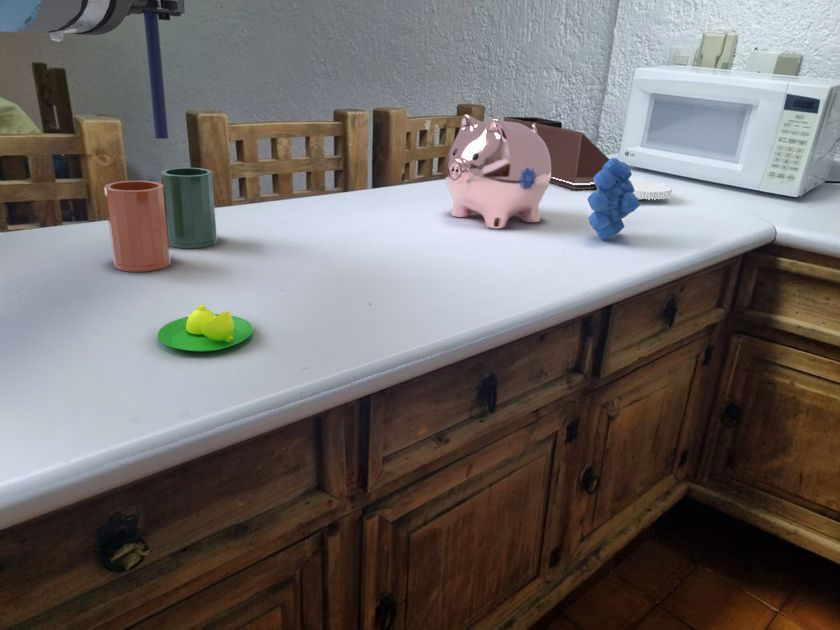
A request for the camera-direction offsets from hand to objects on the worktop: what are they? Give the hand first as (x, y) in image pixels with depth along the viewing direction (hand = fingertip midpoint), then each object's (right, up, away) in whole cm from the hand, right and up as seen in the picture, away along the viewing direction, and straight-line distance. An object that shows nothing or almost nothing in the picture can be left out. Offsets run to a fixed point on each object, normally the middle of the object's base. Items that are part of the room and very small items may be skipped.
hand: (167, 2), depth 75 cm
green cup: (0, -26, +10) cm, 28 cm away
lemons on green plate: (+10, -38, -17) cm, 43 cm away
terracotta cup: (-3, -30, 0) cm, 30 cm away
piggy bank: (+40, -20, +31) cm, 55 cm away
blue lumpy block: (+57, -25, +22) cm, 66 cm away
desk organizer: (+58, -5, +71) cm, 92 cm away
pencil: (-1, -15, 0) cm, 15 cm away
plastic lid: (+71, -13, +54) cm, 90 cm away
